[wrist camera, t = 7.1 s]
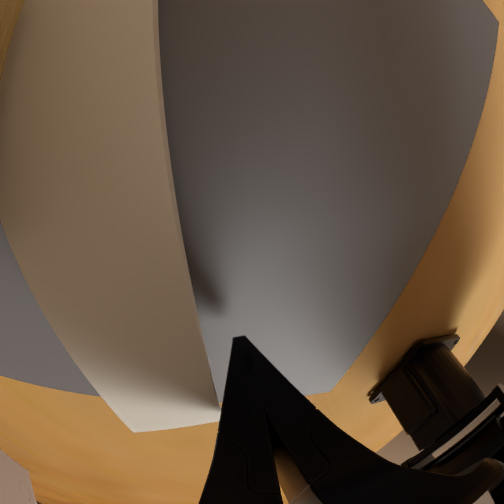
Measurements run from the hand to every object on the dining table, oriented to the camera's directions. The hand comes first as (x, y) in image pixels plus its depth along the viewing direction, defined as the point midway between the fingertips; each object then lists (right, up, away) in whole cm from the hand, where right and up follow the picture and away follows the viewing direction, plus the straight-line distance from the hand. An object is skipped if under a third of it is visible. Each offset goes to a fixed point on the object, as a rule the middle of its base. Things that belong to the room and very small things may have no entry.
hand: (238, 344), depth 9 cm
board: (-2, +6, -2) cm, 6 cm away
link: (-3, +5, -3) cm, 7 cm away
